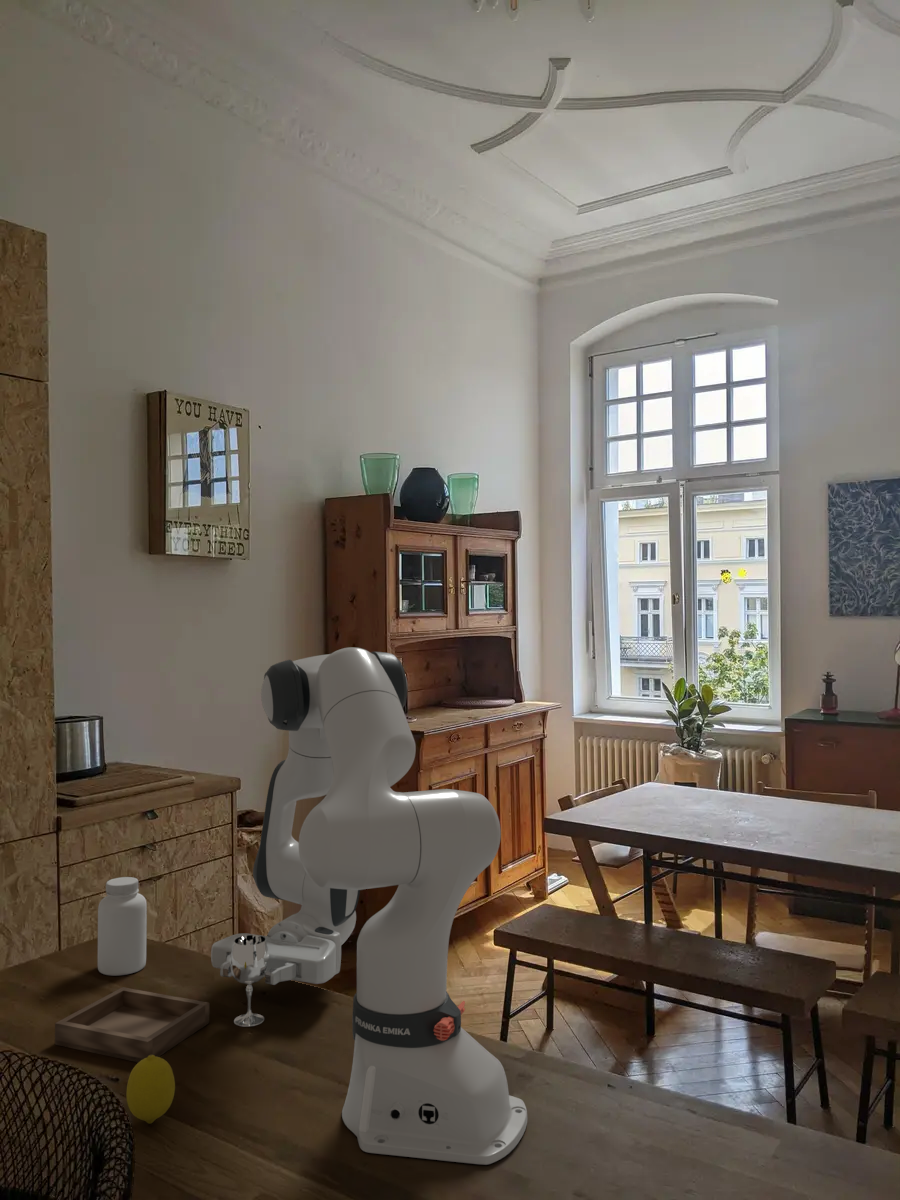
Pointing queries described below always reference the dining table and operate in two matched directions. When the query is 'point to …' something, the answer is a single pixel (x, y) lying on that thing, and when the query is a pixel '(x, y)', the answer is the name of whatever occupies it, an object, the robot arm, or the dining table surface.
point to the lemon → (150, 1088)
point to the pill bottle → (122, 928)
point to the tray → (132, 1024)
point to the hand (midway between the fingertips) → (246, 975)
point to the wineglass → (249, 970)
